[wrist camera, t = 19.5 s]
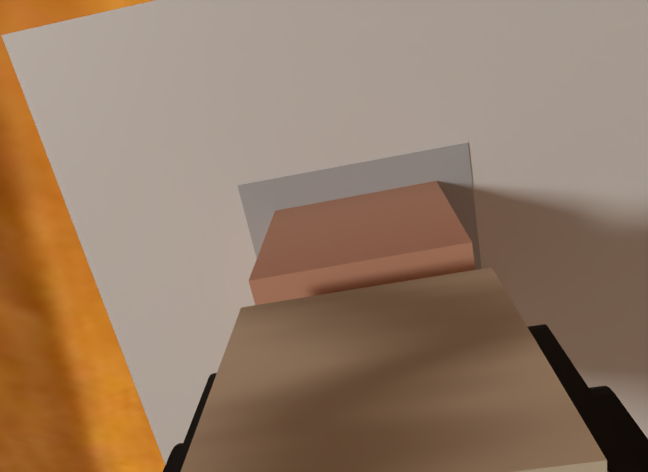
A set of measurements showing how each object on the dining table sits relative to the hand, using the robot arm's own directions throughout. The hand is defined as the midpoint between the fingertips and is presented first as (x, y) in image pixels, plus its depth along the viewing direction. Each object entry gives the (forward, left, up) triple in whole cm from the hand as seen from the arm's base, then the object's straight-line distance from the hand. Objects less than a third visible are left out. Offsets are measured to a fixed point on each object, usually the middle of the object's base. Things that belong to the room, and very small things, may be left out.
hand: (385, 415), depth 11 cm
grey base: (0, 0, -10) cm, 10 cm away
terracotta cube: (0, 0, -7) cm, 7 cm away
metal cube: (0, 0, -1) cm, 1 cm away
